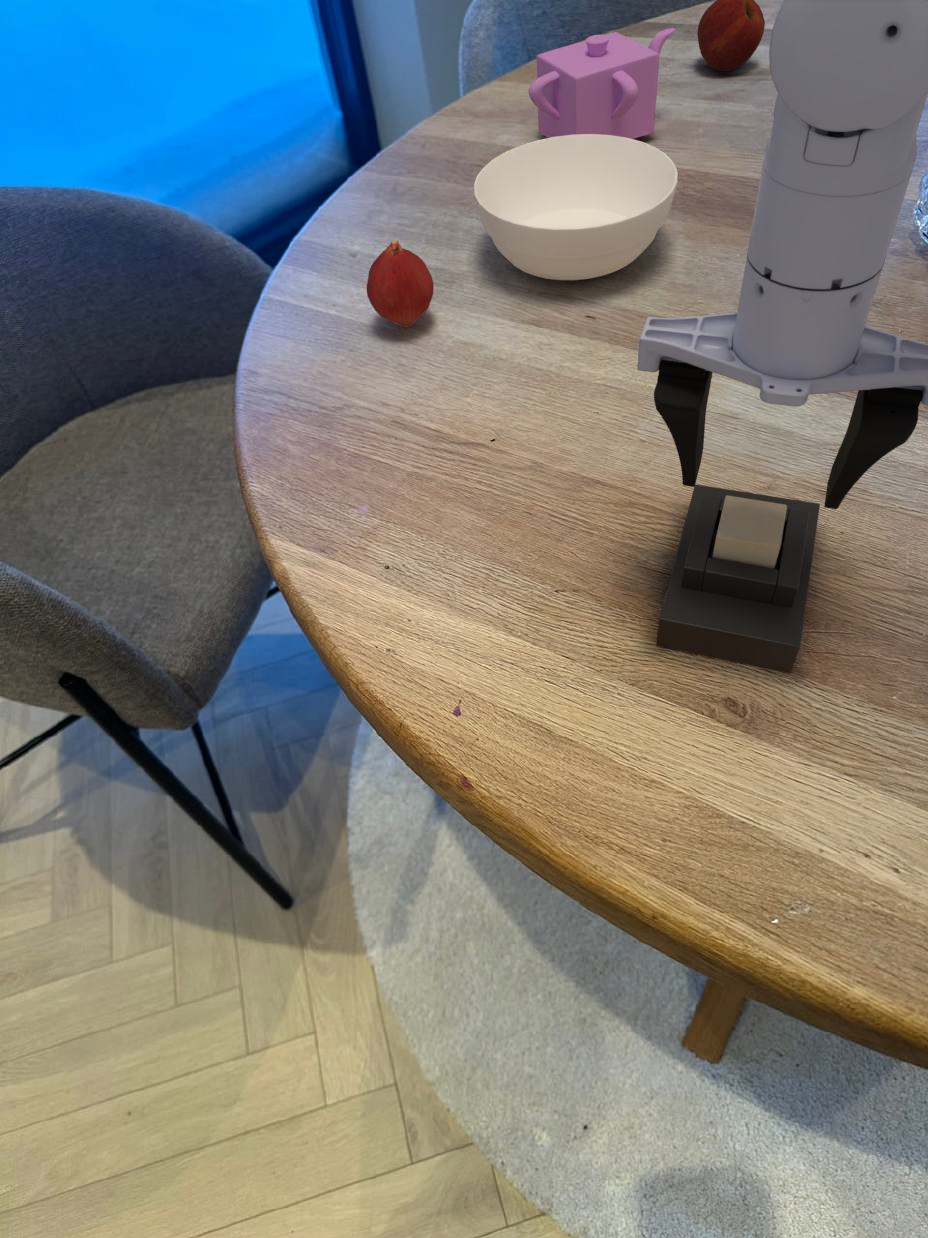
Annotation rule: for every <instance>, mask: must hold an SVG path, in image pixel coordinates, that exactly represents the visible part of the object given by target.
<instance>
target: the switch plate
mask: <svg viewBox="0 0 928 1238" xmlns="http://www.w3.org/2000/svg"><path fill="white" fill-rule="evenodd" d="M726 496H734V497H740V498H746V499H753V500H759V501H765V502H772V503H778V504H784V505H787V511H786V517H785V523H784V528H783V534H782V540H781V546H780V550H779V554H778V557H777V561H776V564H775V568H774V569H770V568H765V567H759V566H754V565H748V564H743V563H737V562H731V561H726V560H720V559H715V558H713V557H712V556H713V551H714V546H715V541H716V536H717V531H718V527H719V523H720V518H721V514H722V510H723V505H724V501H725V497H726ZM820 506H821V504H820V503H816V502H810V501H804V500H798V499H791V498H786V497H780V496H779V497H778V496H772V495H765V494H761V493H760V494H759V493H753V492H749V491H748V492H747V491H741V490H734V489H727V488H722V487H717V486H716V487H715V486H710V485H704V484H703V485H701V484H696V483H695V487H693V490H692V495H691V498H690V502H689V506H688V509H687V514H686V517H685V521H684V525H683V529H682V532H681V535H680V540H679V543H678V548H677V551H676V555H675V559H674V562H673V566H672V569H671V573H670V577H669V581H668V585H667V589H666V593H665V596H664V600H663V604H662V608H661V611H660V616H659V619H658V627H657V635H656V643H655V645H656V646H658V647H662V648H668V649H672V650H676V651H681V652H686V653H691V654H695V655H700V656H706V657H710V658H714V659H719V660H720V659H721V660H724V661H728V662H734V663H739V664H743V665H749V666H752V667H757V668H762V669H767V670H770V671H776V672H781V673H786V674H792V671H793V669H794V667H795V666H794V665H795V663H796V660H797V658H798V655H799V652H800V649H801V645H802V637H803V631H804V623H805V616H806V607H807V600H808V595H809V593H808V592H809V586H810V581H811V579H810V578H811V574H812V573H811V571H812V565H813V556H814V550H815V544H816V536H817V529H818V521H819V514H820Z"/></svg>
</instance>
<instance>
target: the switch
mask: <svg viewBox="0 0 928 1238" xmlns="http://www.w3.org/2000/svg"><path fill="white" fill-rule="evenodd" d="M786 511H787V505H784V504H778V503H772V502H765V501H759V500H753V499H746V498H740V497H734V496H726V497H725V501H724V505H723V510H722V514H721V518H720V523H719V527H718V531H717V536H716V541H715V546H714V551H713V556H712V557H713V558H715V559H720V560H726V561H731V562H737V563H743V564H748V565H754V566H759V567H765V568H770V569H774V568H775V564H776V561H777V557H778V554H779V550H780V546H781V540H782V534H783V528H784V523H785V517H786Z"/></svg>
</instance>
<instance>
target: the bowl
mask: <svg viewBox="0 0 928 1238" xmlns="http://www.w3.org/2000/svg"><path fill="white" fill-rule="evenodd" d="M678 180H679V173H678V170H677V167H676V164H675V162H674V161H673V160H672V159H671V158H670V157H669V156H668V154H666V153H665V152H663V151H662V150H660V149H659V148H657V147H656V146H653V145H651V144H649V143H646V142H643V141H640V140H638V139H635V138H634V139H630V138H626V137H619V136H613V135H600V134H577V135H566V136H557V137H551V138H548V137H546V138H542V139H541V138H540V139H537V140H534V141H531V142H530V141H529V142H528V143H524V144H520V145H518V146H516V147H513V148H510V149H509V150H507V151H504V152H503V153H501V154H499V155H498V156H496V157H494V158H493V159H492V160H489V162H487V164H486V165H485V166H484V167H482V169H481V170H480V171H479V173H478V174H477V176H476V178H475V180H474V183H473V184H474V185H473V197H474V201H475V205H476V208H477V212H478V215H479V219H480V222H481V225H482V228H483V229H484V231H485V233H486V234H487V235H488V236H489V237H490V238H491V239H492V242H493V244H494V246H495V247H496V250H498V252H499V253H500V254H501V255H502V256H503V257H504V258H505V259H507V261H509V262H510V263H511V264H512V266H514V267H515V268H517V269H518V270H520V271H522V272H524V273H525V274H529V275H532V276H534V277H538V278H542V279H547V280H556V281H579V280H588V279H593V278H598V277H603V276H607V275H609V274H612V273H615V272H617V271H619V270H621V269H623V268H625V267H627V266H628V265H629V264H631V263H633V262H634V261H635V260H636V259H637V258H638V257H639V256H640V255H642V254H643V252H645V250H646V249H647V248H648V247H649V246H650V245H651V243H652V242H653V241H654V240H655V237H656V235H657V233H658V231H659V229H660V228H662V226H663V225H664V224H665V222H666V221H667V218H668V216H669V214H670V211H671V208H672V205H673V202H674V201H673V200H674V197H675V194H676V190H677V187H678V185H679V183H678Z"/></svg>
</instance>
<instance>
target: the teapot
mask: <svg viewBox="0 0 928 1238" xmlns="http://www.w3.org/2000/svg"><path fill="white" fill-rule="evenodd" d="M674 32H676V28H674V27H671V28H667V29H663V30H661V31H659V32H657V33H656V34H655V35H654V36H653V38H652V39H651V41H650V42H649V44H648V47H647V46H646V45H643V44H641V43H639V42H637V41H635V40H633V39H631V38H629V37H627V36H625V35H623V34H621V33H619V32H617V31H614V32H611V33H606V34H593V35H590V36H588V37H587V38H585V40H582V41H580V42H579V41H578V42H576V43H572V44H569V45H566V46H562V47H559V48H555V49H552V50H548V51H545V52H542V53H538V54H537V55H536V79H534V80H533V81H532V83H530V85H529V87H528V89H527V90H528V91H527V92H528V97H529V99H530V100H531V102H532V103H533V105H535V107H536V108H537V124H538V125H537V127H538V129H537V130H538V132H539V133H540V134H542V135H544V136H545V137H546V138H551V137H557V136H566V135H577V134H600V135H613V136H619V137H626V138H630V139H634V140H635V139H637V138H640V137H643V136H647V135H649V134H653V133H655V125H656V111H657V110H656V109H657V97H658V82H659V72H660V71H659V69H660V59H661V58H660V54H661V51H662V49H663V47H664V45H665V43H666V42H667V39H669V37H670V36H671V35H672V34H673V33H674Z"/></svg>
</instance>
